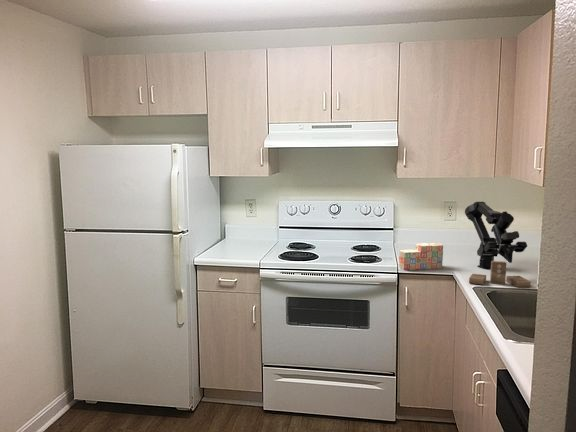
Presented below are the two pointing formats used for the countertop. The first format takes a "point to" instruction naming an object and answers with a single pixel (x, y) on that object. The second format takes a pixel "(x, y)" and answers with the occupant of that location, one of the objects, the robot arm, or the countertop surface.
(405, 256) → the stack of blocks
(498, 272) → the light brown wooden block
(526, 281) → the tile two
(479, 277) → the wooden block
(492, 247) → the robot arm
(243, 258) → the countertop surface
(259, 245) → the countertop surface
